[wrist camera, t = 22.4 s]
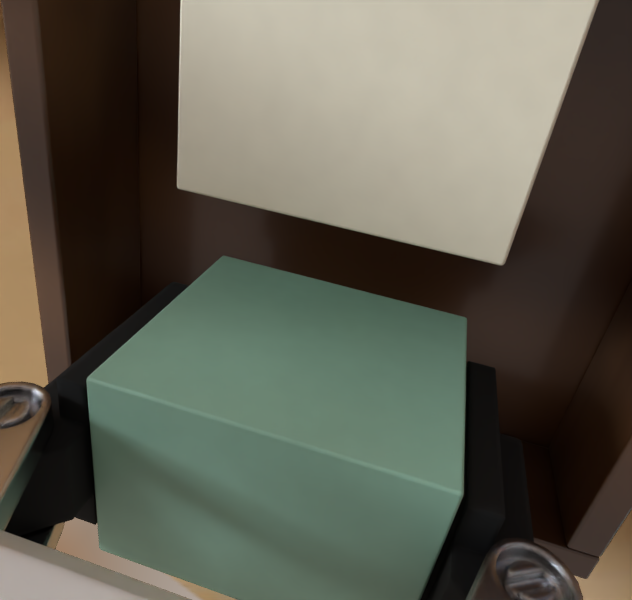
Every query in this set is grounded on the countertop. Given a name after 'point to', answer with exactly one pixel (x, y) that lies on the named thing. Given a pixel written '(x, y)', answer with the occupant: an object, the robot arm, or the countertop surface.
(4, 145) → the countertop surface
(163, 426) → the green block
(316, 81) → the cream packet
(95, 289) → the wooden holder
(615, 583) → the countertop surface
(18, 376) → the countertop surface
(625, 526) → the countertop surface
